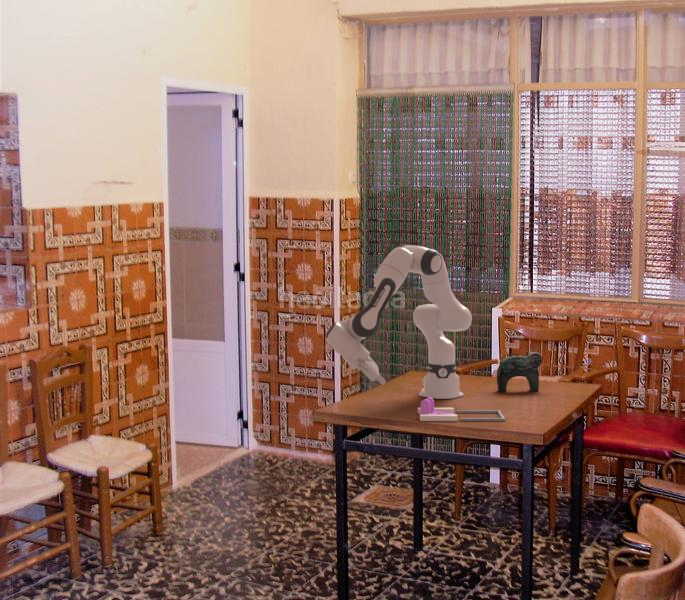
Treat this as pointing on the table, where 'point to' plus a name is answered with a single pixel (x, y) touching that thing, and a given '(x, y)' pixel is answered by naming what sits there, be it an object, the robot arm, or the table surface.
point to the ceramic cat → (519, 369)
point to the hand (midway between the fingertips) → (384, 383)
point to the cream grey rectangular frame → (454, 416)
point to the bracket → (429, 407)
